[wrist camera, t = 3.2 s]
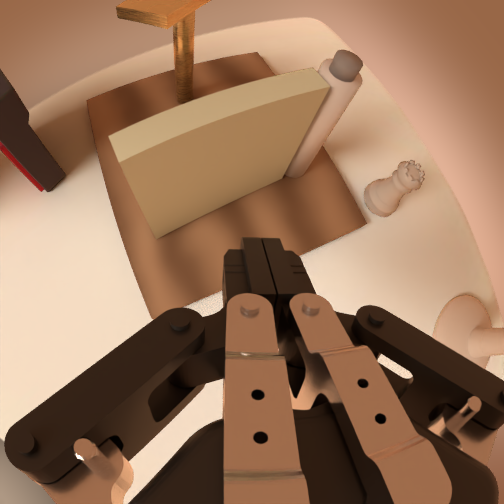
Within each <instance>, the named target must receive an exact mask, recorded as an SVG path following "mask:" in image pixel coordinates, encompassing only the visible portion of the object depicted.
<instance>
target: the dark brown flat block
mask: <svg viewBox="0 0 504 504" xmlns="http://www.w3.org/2000/svg"><path fill="white" fill-rule="evenodd" d="M28 121H29V112H28V110H27V109H26V107H25V106H24V104H23V103H22V101H21V99H20V98H19V96H18V94H17V93H16V91H15V89H14V88H13V87H12V85H11V84H10V82H9V81H8V79H7V78H6V77H5V75H4V74H3V72H2V71H1V69H0V150H1V151H2V152H3V153H4V154H5V155H6V156H7V157H8V159H9V160H10V161H11V162H12V163H13V165H14V166H16V167H17V168H18V169H19V171H20V172H22V173H23V174H24V175H25V176H26V177H27V178H28V179H29V180H30V181H31V182H32V183H33V184H34V185H35V186H36V187H37V188H38V189H39V190H40V191H41V192H42V191H43V190H44V189H45V190H46V191H47V192H49V191H50V190H51V189H52V188H53V187H54V186H55V185H56V184H57V183H58V182H59V181H60V180H61V179H62V178H63V177H64V176H65V173H64V172H63V170H62V169H61V168H60V166H59V165H58V164H57V163H56V161H55V160H54V159H53V157H52V156H51V155H50V153H49V152H48V151H47V149H46V148H45V146H44V145H43V144H42V142H41V141H40V140H39V138H38V137H37V135H36V134H35V133H34V131H33V130H32V128H31V127H30V125H29V124H28Z"/></svg>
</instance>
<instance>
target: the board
mask: <svg viewBox="0 0 504 504" xmlns="http://www.w3.org/2000/svg"><path fill="white" fill-rule="evenodd" d="M272 76H275V75H274V73H273V72H272V71H271V69H270V68H269V67H268V65H267V64H266V63H265V61H264V60H263V59H262V58H261V56H260V55H259V54H258V52H254V53H248V54H242V55H236V56H231V57H225V58H220V59H216V60H211V61H206V62H202V63H198V64H194V65H193V100H196V99H198V98H201V97H204V96H207V95H210V94H213V93H216V92H219V91H222V90H226V89H229V88H232V87H235V86H239V85H242V84H246V83H249V82H253V81H257V80H260V79H264V78H268V77H272ZM193 100H192V101H193ZM87 105H88V111H89V116H90V121H91V126H92V131H93V135H94V140H95V144H96V149H97V153H98V157H99V161H100V165H101V169H102V173H103V177H104V181H105V184H106V188H107V192H108V195H109V199H110V202H111V206H112V209H113V212H114V216H115V219H116V222H117V225H118V228H119V231H120V235H121V238H122V241H123V244H124V247H125V250H126V252H127V255H128V258H129V261H130V264H131V267H132V269H133V272H134V275H135V277H136V280H137V283H138V285H139V288H140V291H141V293H142V296H143V298H144V301H145V303H146V306H147V308H148V311H149V313H150V316H151V318H152V319H155V318H157V317H158V316H159V315H161V314H162V313H164V312H165V311H167V310H169V309H173V308H182V307H184V306H186V305H189V304H191V303H193V302H196V301H198V300H200V299H203V298H205V297H207V296H210V295H212V294H214V293H217V292H219V291H221V290H222V279H223V259H224V255H225V254H226V252H227V251H228V249H240V244H241V238H242V237H259V238H280V240H281V243H282V245H283V248H284V250H291V251H293V252H294V253H296V254H297V255H298V256H300V255H302V254H304V253H307V252H309V251H311V250H313V249H315V248H317V247H320V246H322V245H324V244H326V243H328V242H330V241H333V240H335V239H337V238H339V237H341V236H343V235H346V234H348V233H350V232H352V231H354V230H356V229H358V228H361V227H362V226H364V225H365V224H367V223H366V221H365V219H364V217H363V215H362V213H361V211H360V210H359V208H358V206H357V204H356V202H355V200H354V198H353V197H352V195H351V193H350V191H349V189H348V188H347V186H346V184H345V182H344V181H343V179H342V177H341V175H340V174H339V172H338V170H337V169H336V167H335V165H334V164H333V162H332V160H331V159H330V157H329V155H328V154H327V152H326V150H325V149H324V147H323V145H322V147H321V148H320V150H319V151H318V153H317V155H316V156H315V158H314V159H313V161H312V162H311V164H310V165H309V167H308V169H307V170H306V172H305V173H304V174H303V175H302V176H300V177H297V178H293V177H289V176H286V175H285V174H284V176H283V177H282V179H280V180H278V181H276V182H274V183H271V184H269V185H267V186H265V187H263V188H260V189H258V190H256V191H254V192H252V193H249V194H247V195H245V196H243V197H241V198H239V199H237V200H235V201H232V202H230V203H228V204H226V205H224V206H222V207H220V208H218V209H216V210H214V211H212V212H209V213H207V214H205V215H203V216H201V217H199V218H197V219H195V220H193V221H191V222H189V223H187V224H185V225H183V226H181V227H179V228H177V229H175V230H173V231H171V232H169V233H167V234H166V235H164V236H162V237H160V238H158V239H156V238H155V236H154V234H153V232H152V230H151V228H150V226H149V224H148V222H147V220H146V218H145V216H144V214H143V212H142V210H141V208H140V206H139V204H138V202H137V200H136V198H135V196H134V194H133V192H132V190H131V188H130V185H129V183H128V181H127V179H126V177H125V175H124V173H123V170H122V168H121V166H120V164H119V162H118V159H117V157H116V154H115V152H114V149H113V147H112V144H111V142H110V139H109V137H108V136H110V135H112V134H114V133H116V132H118V131H120V130H122V129H125V128H127V127H129V126H131V125H133V124H135V123H138V122H140V121H142V120H145V119H147V118H149V117H152V116H154V115H156V114H159V113H161V112H164V111H166V110H169V109H171V108H174V107H177V106H179V105H182V104H180V103H179V102H177V98H176V83H175V70H171V71H167V72H164V73H161V74H157V75H154V76H151V77H148V78H145V79H142V80H139V81H136V82H133V83H130V84H127V85H124V86H121V87H119V88H116V89H113V90H111V91H108V92H106V93H103V94H101V95H98V96H96V97H93V98H91V99H89V100H87Z"/></svg>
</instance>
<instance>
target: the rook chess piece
mask: <svg viewBox="0 0 504 504" xmlns="http://www.w3.org/2000/svg"><path fill="white" fill-rule="evenodd" d="M414 163H415V162H414V161H413V160H410V161H409V162H408V161H407V162H406V161H404V162H401V163H400V164H399V165H398V170H395V171H394V172H393V174H392V176H391V177H389V178H387V179H382V180H381V179H379V180H376V181H373V182H372V183H371V184H368V186H367V187H366V188H365V191H364V199H365V203H366V205H367V207H368V208H369V209H370V210H371V212H372V213H374V214H376V215H378V216H381V217H387V216H389V215H391V214H392V212H394V211H395V210H396V208H397V207H398V205H399V202H400V198H401V197H402V196H403V195H404V194H405V193H410V192H411V191H412V189H414V190H417V189H419V188H420V187H421V185H422V182H423V180H424V178H423V176H424V175H425V174H424V171H420V170H419V168H420V167H421V166H420V165H419V164H416V165H415V164H414Z"/></svg>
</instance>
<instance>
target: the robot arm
mask: <svg viewBox="0 0 504 504" xmlns="http://www.w3.org/2000/svg"><path fill="white" fill-rule="evenodd" d="M222 295H223V308H222V309H221V310H220V311H219V312H217V313H215V314H212V315H209V316H205V317H202V316H201V315H200V314H199V313H198V312H196V311H194V310H192V309H189V308H173V309H169V310H167V311H165V312H164V313H162V314H161V315H159V316H158V317H157V318H155V319H154V320H153V321H151V322H150V323H149V324H147V325H146V326H145V327H143V328H142V329H141V330H139V331H138V332H137V333H135V334H134V335H133V336H131V337H130V338H129V339H127V340H126V341H124V342H123V343H122V344H120V345H119V346H118V347H116V348H115V349H114V350H112V351H111V352H110V353H108V354H107V355H106V356H104V357H103V358H102V359H100V360H99V361H98V362H96V363H95V364H94V365H92V366H91V367H90V368H88V369H87V370H86V371H84V372H83V373H82V374H80V375H79V376H78V377H76V378H75V379H74V380H72V381H71V382H70V383H68V384H67V385H66V386H64V387H63V388H62V389H60V390H59V391H58V392H56V393H55V394H54V395H52V396H51V397H50V398H48V399H47V400H46V401H44V402H43V403H42V404H40V405H39V406H38V407H36V408H35V409H34V410H32V411H31V412H30V413H28V414H27V415H26V416H24V417H23V418H22V419H20V420H19V421H18V422H16V423H15V424H14V425H13V426H12V427H11V428H10V429H9V430H8V432H7V434H6V437H5V443H4V444H5V445H4V446H5V452H6V455H7V457H8V459H9V460H10V462H11V463H12V464H13V465H14V466H15V467H16V468H18V469H19V470H20V471H22V472H23V473H25V474H26V475H27V476H28V477H29V478H31V479H32V480H33V481H34V482H36V483H37V484H39V485H41V486H42V487H43V488H44V490H45V491H46V492H47V493H48V494H49V495H50V497H51V498H52V499H53V500H54V502H55V503H56V504H123V500H124V496H125V494H126V492H127V491H128V489H129V488H130V487H131V485H132V483H133V479H134V473H133V469H132V467H131V465H130V463H129V461H130V460H131V459H132V458H133V457H134V456H135V455H136V454H137V453H138V452H139V451H140V450H141V449H143V448H144V447H145V446H146V445H147V444H148V443H149V442H150V441H151V440H152V439H153V438H154V437H155V436H156V435H157V434H158V433H159V432H160V431H161V430H162V429H163V428H164V427H165V426H166V425H168V424H169V423H170V422H171V421H172V420H173V419H174V418H175V417H176V416H177V415H178V414H179V413H180V412H181V411H182V410H183V409H184V408H185V407H186V406H187V405H188V404H189V403H190V402H191V401H192V400H193V399H194V397H195V396H196V395H197V394H198V393H199V392H200V391H201V390H202V389H203V388H204V386H205V384H206V383H209V382H213V381H216V380H220V379H223V414H222V419H219V420H217V421H214V422H212V423H210V424H208V425H206V426H204V427H203V428H201V429H200V430H198V431H197V432H196V433H194V434H193V435H192V436H191V437H190V438H189V439H188V440H187V441H186V442H185V443H184V444H183V445H182V447H181V448H180V449H179V450H178V451H177V452H176V453H175V454H174V456H173V457H172V458H171V459H170V460H169V461H168V462H167V463H166V464H165V465H164V467H163V468H162V469H161V470H160V471H159V472H158V473H157V474H156V475H155V476H154V477H153V478H152V479H151V481H150V482H149V483H148V484H147V485H146V486H145V487H144V488H143V489H142V490H141V491H140V492H139V493H138V494H137V495H136V496H135V497H134V498H133V499H132V500H131V501H130V502H129V503H128V504H498V494H499V492H498V485H497V481H496V478H495V477H494V475H493V473H492V472H491V470H490V469H489V468H488V467H487V463H488V460H489V458H490V454H491V451H492V448H493V445H494V441H495V438H496V434H497V431H498V429H499V427H501V426H502V425H503V424H504V381H503V380H502V379H500V378H498V377H497V376H495V375H493V374H492V373H490V372H489V371H487V370H485V369H484V368H482V367H480V366H479V365H477V364H475V363H474V362H472V361H470V360H469V359H467V358H465V357H464V356H462V355H460V354H459V353H457V352H456V351H454V350H452V349H451V348H449V347H447V346H446V345H444V344H442V343H440V342H439V341H437V340H435V339H434V338H432V337H430V336H429V335H427V334H425V333H424V332H422V331H420V330H419V329H417V328H415V327H414V326H412V325H410V324H408V323H407V322H405V321H403V320H402V319H400V318H398V317H397V316H395V315H393V314H391V313H390V312H388V311H386V310H385V309H383V308H380V307H377V306H373V305H367V306H363V307H361V308H360V309H359V310H358V311H357V313H356V316H355V315H349V314H344V313H339V312H336V311H334V310H333V308H332V306H331V305H330V303H329V302H328V301H327V300H326V299H325V298H323V297H321V296H319V295H317V294H316V292H315V290H314V288H313V285H312V283H311V281H310V278H309V276H308V274H307V272H306V269H305V267H304V265H303V263H302V260H301V258H300V257H299V256H298V255H297V254H296V253H294V252H293V251H291V250H284V248H283V245H282V243H281V240H280V238H259V237H242V238H241V244H240V249H228V251H227V252H226V254H225V255H224V259H223V279H222ZM278 349H279V351H278ZM380 354H383V355H384V356H386V357H388V358H389V359H391V360H392V361H394V362H396V363H397V364H399V365H400V366H402V367H404V368H405V369H407V370H408V371H410V372H411V374H412V375H413V377H412V378H409V379H405V378H402V377H401V376H399V375H397V374H396V373H394V372H393V371H391V370H389V369H388V368H386V367H385V366H383V365H382V364H380V363H378V362H377V360H378V358H379V356H380Z"/></svg>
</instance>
